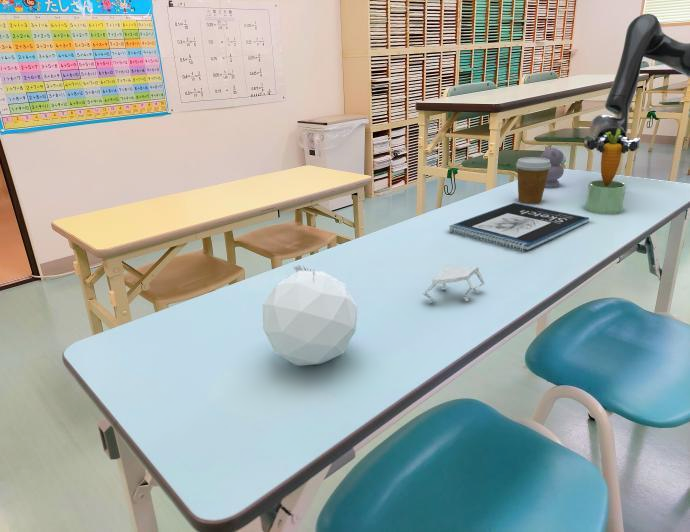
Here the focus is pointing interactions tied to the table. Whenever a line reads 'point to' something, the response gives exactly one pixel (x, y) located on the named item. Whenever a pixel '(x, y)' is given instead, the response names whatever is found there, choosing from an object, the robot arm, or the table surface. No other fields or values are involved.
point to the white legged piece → (455, 278)
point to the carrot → (610, 158)
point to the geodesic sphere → (309, 317)
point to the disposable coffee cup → (532, 178)
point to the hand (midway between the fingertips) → (613, 148)
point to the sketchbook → (519, 226)
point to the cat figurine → (553, 166)
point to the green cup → (605, 197)
